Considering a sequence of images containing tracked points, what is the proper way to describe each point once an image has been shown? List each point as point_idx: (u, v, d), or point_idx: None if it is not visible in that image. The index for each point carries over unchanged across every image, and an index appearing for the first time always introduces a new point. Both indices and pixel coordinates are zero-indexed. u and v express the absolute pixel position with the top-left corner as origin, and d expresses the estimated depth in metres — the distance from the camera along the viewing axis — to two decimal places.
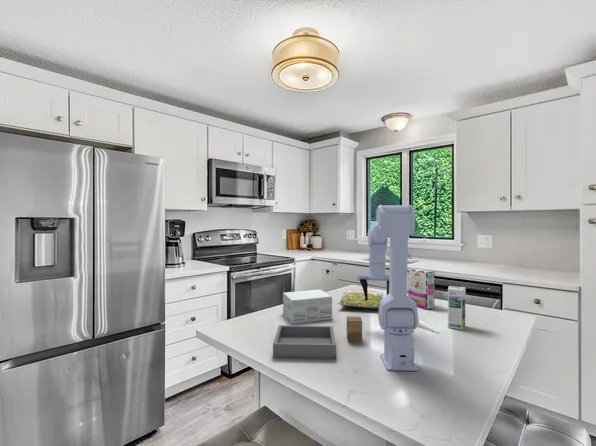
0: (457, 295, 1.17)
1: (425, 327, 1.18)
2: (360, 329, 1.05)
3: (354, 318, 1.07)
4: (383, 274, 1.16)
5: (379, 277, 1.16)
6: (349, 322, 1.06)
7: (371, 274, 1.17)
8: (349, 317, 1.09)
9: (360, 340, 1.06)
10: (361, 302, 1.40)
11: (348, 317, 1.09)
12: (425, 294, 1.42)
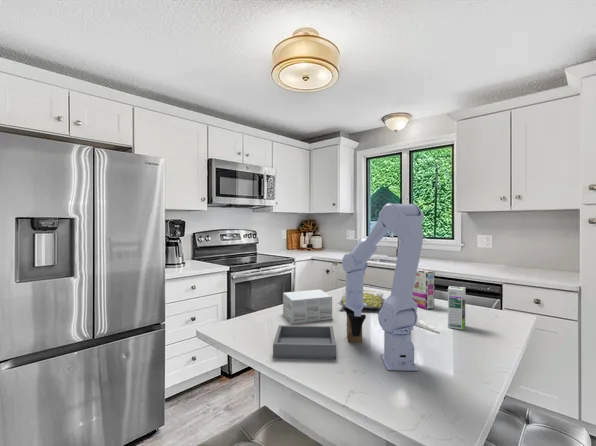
0: (457, 295, 1.17)
1: (425, 327, 1.17)
2: None
3: None
4: (348, 303, 1.06)
5: (345, 304, 1.07)
6: (349, 322, 1.06)
7: None
8: None
9: (360, 340, 1.06)
10: None
11: (348, 317, 1.09)
12: (425, 294, 1.42)
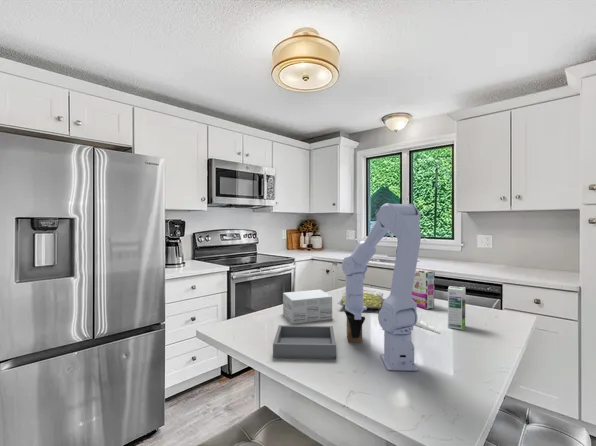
0: (457, 295, 1.17)
1: (426, 327, 1.17)
2: None
3: None
4: (348, 306, 1.06)
5: (345, 308, 1.07)
6: None
7: None
8: None
9: (360, 340, 1.06)
10: None
11: None
12: (425, 294, 1.42)
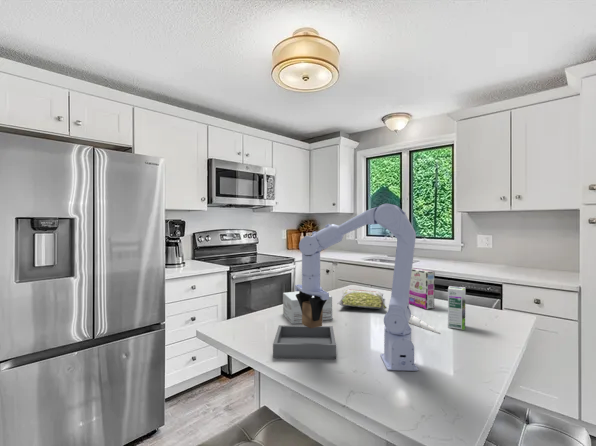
0: (457, 295, 1.17)
1: (426, 327, 1.17)
2: (321, 312, 1.01)
3: None
4: (309, 288, 0.99)
5: (304, 291, 1.00)
6: None
7: None
8: (305, 302, 1.03)
9: (320, 324, 1.01)
10: (361, 302, 1.40)
11: (306, 302, 1.02)
12: (425, 294, 1.42)
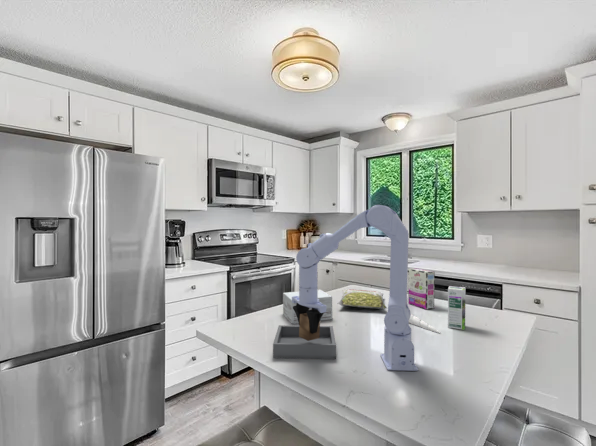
0: (457, 295, 1.17)
1: (426, 327, 1.17)
2: None
3: None
4: (306, 301, 0.98)
5: (301, 303, 0.99)
6: None
7: None
8: (303, 314, 1.02)
9: (318, 336, 1.01)
10: (361, 302, 1.40)
11: (303, 314, 1.02)
12: (425, 294, 1.42)
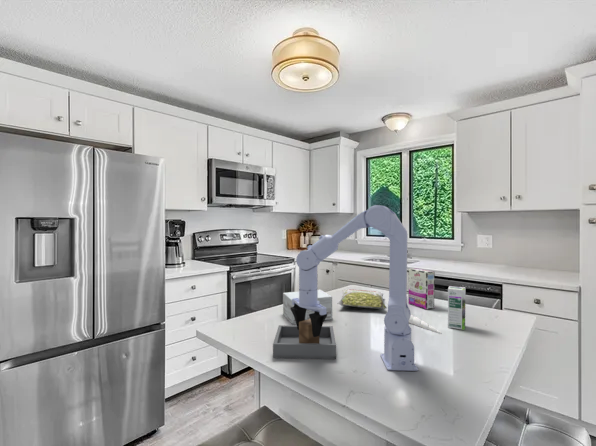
0: (457, 295, 1.17)
1: (427, 327, 1.17)
2: None
3: (309, 322, 1.01)
4: (306, 303, 0.98)
5: (301, 305, 0.99)
6: (309, 327, 0.99)
7: None
8: (302, 321, 1.02)
9: (318, 343, 1.01)
10: (361, 302, 1.40)
11: (302, 322, 1.01)
12: (425, 294, 1.42)
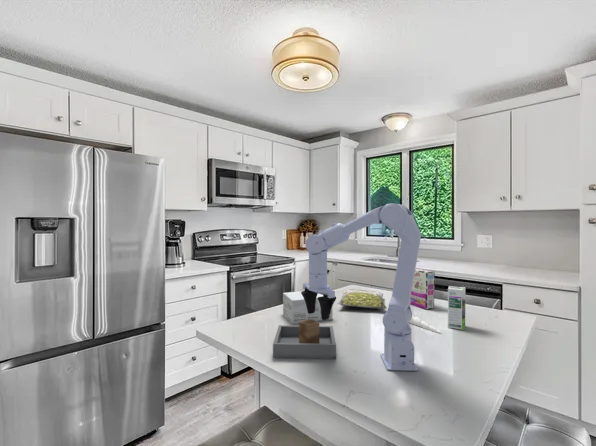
0: (457, 295, 1.17)
1: (427, 327, 1.17)
2: (318, 331, 1.01)
3: (309, 322, 1.01)
4: (315, 286, 1.00)
5: (310, 289, 1.01)
6: (309, 327, 0.99)
7: None
8: (302, 321, 1.02)
9: (318, 343, 1.01)
10: (361, 302, 1.40)
11: (302, 322, 1.01)
12: (425, 294, 1.42)
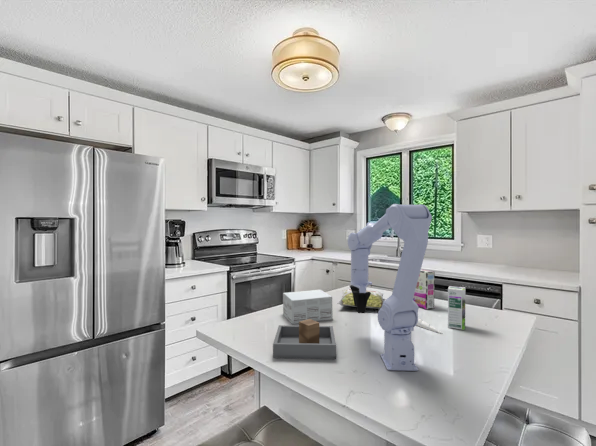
0: (457, 295, 1.17)
1: (428, 328, 1.17)
2: (318, 331, 1.01)
3: (309, 322, 1.01)
4: (353, 281, 1.08)
5: (350, 283, 1.09)
6: (309, 327, 0.99)
7: None
8: (302, 321, 1.02)
9: (318, 343, 1.01)
10: None
11: (302, 322, 1.01)
12: (425, 294, 1.42)
